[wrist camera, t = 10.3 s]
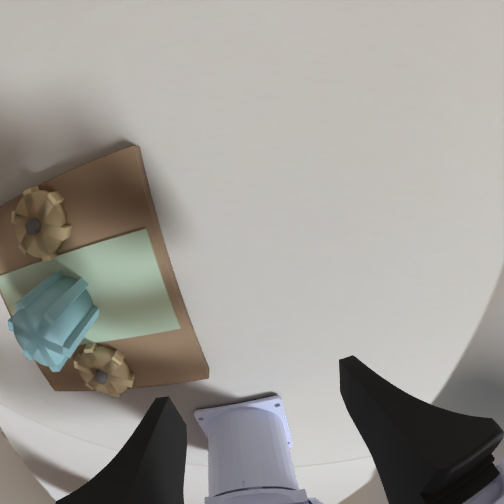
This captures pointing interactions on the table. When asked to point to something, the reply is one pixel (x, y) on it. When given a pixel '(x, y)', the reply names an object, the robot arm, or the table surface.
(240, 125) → the table surface
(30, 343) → the teal gear
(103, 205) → the gear board
